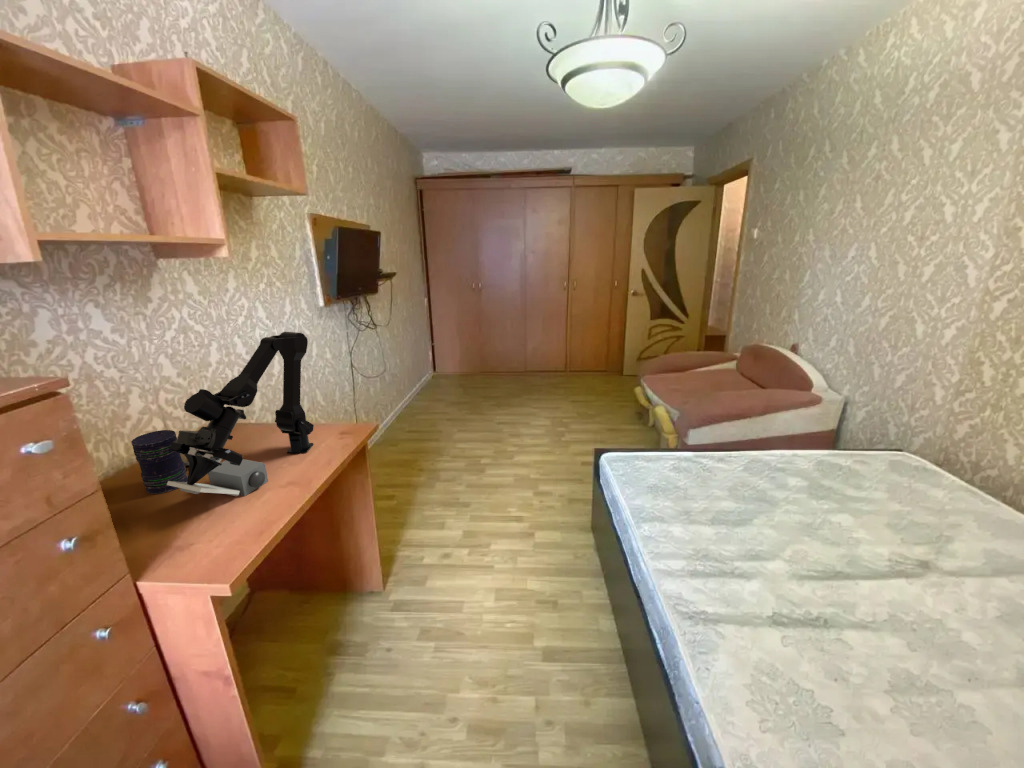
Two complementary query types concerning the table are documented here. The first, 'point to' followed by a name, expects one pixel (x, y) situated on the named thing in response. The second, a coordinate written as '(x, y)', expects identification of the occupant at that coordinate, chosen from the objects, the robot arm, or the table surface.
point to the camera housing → (239, 476)
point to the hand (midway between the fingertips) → (189, 484)
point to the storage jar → (159, 461)
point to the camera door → (203, 488)
